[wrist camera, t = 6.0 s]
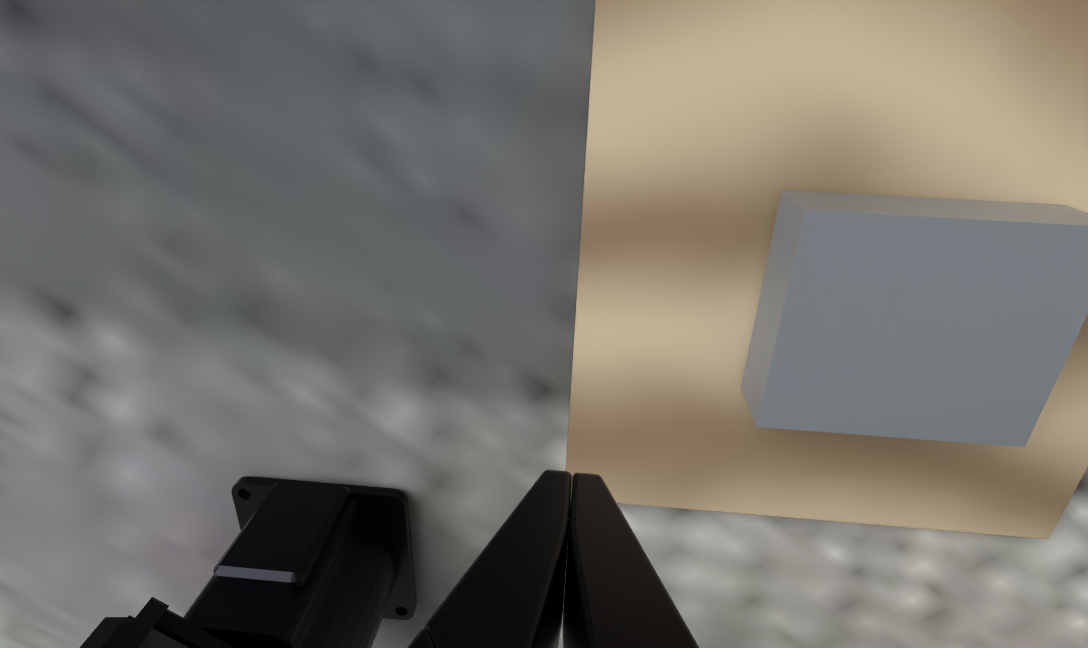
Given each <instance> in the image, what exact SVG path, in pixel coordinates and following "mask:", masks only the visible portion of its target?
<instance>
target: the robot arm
mask: <svg viewBox="0 0 1088 648" xmlns="http://www.w3.org/2000/svg"><path fill="white" fill-rule="evenodd" d="M571 487H572V491H571ZM247 490H248V491H247ZM232 496H233V500H234V504H235V508H236V512H237V516H238V520H239V524H240V529H241V532H240V533H239V534H238V536H237V537H236V538H235V540H234V541H233V543H232V544H231V545H230V547H229V548H228V550H227V551H226V552H225V554H224V555H223V556H222V558H221V559H220V561H219V562H218V563H217V565H216V566H215V568H214V575H213V576H212V578H211V579H210V580H209V582H208V583H207V585H206V586H205V587H204V589H203V590H202V592H201V593H200V594H199V596H198V597H197V599H196V600H195V602H194V603H193V604H192V606H191V607H190V609H189V610H188V611H187V613H186V614H185V616H184V617H181V616H179V615H177V614H175V613H174V612H172V611H170V610H168V609H167V608H168V607H169V605H167V604H165V603H163V602H161V601H159V600H157V599H156V598H154V597H152V598H151V599H150V600H149V602H148V603H147V604H146V605H145V606H144V608H143V609H142V610H141V611H140V613H139V614H138V615H137V616H136V618H134V617H132V616H130V615H129V616H128V617H105V618H104V619H103V621H102V622H101V623H100V624H99V625H98V627H97V628H96V629H95V630H94V631H93V632H92V634H91V635H90V636H89V637H88V638H87V640H86V641H85V642H84V643H83V644H82V645H81V647H80V648H372V645H373V642H374V640H375V637H376V634H377V631H378V629H379V626H380V623H381V621H382V618H389V619H399V620H407V619H410V618H411V617H412V616H413V615H414V611H415V608H416V592H415V580H414V568H413V556H412V545H411V533H410V521H409V509H408V499H407V496H406V495H405V494H404V493H403V492H401V491H400V490H397V489H391V488H379V487H367V486H355V485H344V484H332V483H320V482H308V481H296V480H284V479H272V478H260V477H249V476H248V477H242V478H240V479H239V480H238V481H237V483H236V484H235V485H234V486H233V488H232ZM390 501H391V502H394V503H396V505H394V504H391V503H390ZM570 502H571V505H570ZM569 517H570V519H569ZM568 532H569V534H568ZM567 546H568V548H567ZM566 560H567V563H566ZM565 574H566V578H565ZM564 588H565V593H564ZM563 602H564V608H563ZM562 614H563V647H564V648H699V647H698V645H697V643H696V641H695V640H694V638H693V636H692V634H691V633H690V631H689V629H688V627H687V626H686V624H685V622H684V620H683V619H682V617H681V615H680V613H679V612H678V610H677V608H676V606H675V605H674V603H673V601H672V599H671V598H670V596H669V594H668V592H667V591H666V589H665V587H664V585H663V584H662V582H661V580H660V578H659V577H658V575H657V573H656V571H655V570H654V568H653V566H652V564H651V563H650V561H649V559H648V557H647V556H646V554H645V552H644V550H643V549H642V547H641V545H640V543H639V541H638V540H637V538H636V536H635V534H634V533H633V531H632V529H631V527H630V526H629V524H628V522H627V520H626V519H625V517H624V515H623V513H622V512H621V510H620V508H619V506H618V505H617V503H616V501H615V499H614V498H613V496H612V494H611V492H610V491H609V489H608V487H607V485H606V484H605V482H604V480H603V479H602V477H601V476H600V475H598V474H592V473H580V472H576V473H574V475H573V477H572V474H571V473H570V472H568V471H556V470H546V471H544V472H543V473H542V475H541V476H540V477H539V478H538V480H537V481H536V482H535V484H534V485H533V486H532V488H531V489H530V490H529V491H528V493H527V494H526V495H525V497H524V498H523V499H522V500H521V502H520V503H519V504H518V506H517V507H516V508H515V510H514V511H513V512H512V513H511V515H510V516H509V517H508V519H507V520H506V521H505V523H504V524H503V525H502V526H501V528H500V529H499V530H498V532H497V533H496V534H495V535H494V537H493V538H492V539H491V541H490V542H489V543H488V545H487V546H486V547H485V548H484V550H483V551H482V552H481V554H480V555H479V556H478V557H477V559H476V560H475V561H474V563H473V564H472V565H471V567H470V568H469V569H468V570H467V572H466V573H465V574H464V576H463V577H462V578H461V579H460V581H459V582H458V583H457V585H456V586H455V587H454V589H453V590H452V591H451V592H450V594H449V595H448V596H447V598H446V599H445V600H444V601H443V603H442V604H441V605H440V607H439V608H438V609H437V611H436V612H435V613H434V614H433V616H432V617H431V618H430V620H429V621H428V622H427V624H426V625H425V629H422V630H421V631H420V632H419V633H418V635H417V636H416V637H415V639H414V640H413V641H412V643H411V644H410V645H409V646H408V648H558V643H559V637H560V631H561V624H562Z"/></svg>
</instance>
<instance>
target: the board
mask: <svg viewBox="0 0 1088 648" xmlns="http://www.w3.org/2000/svg"><path fill="white" fill-rule="evenodd" d="M782 190H793V191H812V192H831V193H850V194H869V195H888V196H907V197H926V198H945V199H964V200H983V201H1002V202H1021V203H1040V204H1060V205H1067V206H1070V207H1073V208H1076V209H1078V210H1081V211H1084V212H1087V213H1088V0H596V5H595V20H594V36H593V52H592V68H591V83H590V99H589V115H588V131H587V147H586V162H585V178H584V194H583V210H582V225H581V241H580V257H579V273H578V288H577V304H576V320H575V336H574V351H573V367H572V383H571V399H570V415H569V430H568V446H567V462H566V471H568V472H570V473H571V474H572V477H573V475H574V473H576V472H580V473H592V474H598V475H600V476H601V477H602V479H603V480H604V482H605V484H606V485H607V487H608V489H609V491H610V492H611V494H612V496H613V498H614V499H615V501H616V503H624V504H636V505H647V506H659V507H671V508H683V509H695V510H707V511H719V512H731V513H743V514H755V515H767V516H779V517H791V518H803V519H815V520H827V521H839V522H850V523H862V524H874V525H886V526H898V527H910V528H922V529H934V530H946V531H958V532H970V533H982V534H994V535H1006V536H1018V537H1030V538H1041V539H1049V537H1050V536H1051V534H1052V532H1053V530H1054V528H1055V526H1056V524H1057V523H1058V521H1059V519H1060V517H1061V515H1062V513H1063V512H1064V510H1065V508H1066V506H1067V504H1068V502H1069V500H1070V499H1071V497H1072V495H1073V493H1074V491H1075V489H1076V487H1077V486H1078V484H1079V482H1080V480H1081V478H1082V476H1083V474H1084V473H1085V471H1086V469H1087V467H1088V315H1087V317H1086V319H1085V321H1084V323H1083V325H1082V327H1081V329H1080V332H1079V334H1078V336H1077V338H1076V340H1075V342H1074V344H1073V346H1072V348H1071V351H1070V353H1069V355H1068V357H1067V359H1066V361H1065V363H1064V365H1063V367H1062V370H1061V372H1060V374H1059V376H1058V378H1057V380H1056V382H1055V384H1054V386H1053V389H1052V391H1051V393H1050V395H1049V397H1048V399H1047V401H1046V403H1045V405H1044V408H1043V410H1042V412H1041V414H1040V416H1039V418H1038V420H1037V422H1036V424H1035V427H1034V429H1033V431H1032V433H1031V435H1030V437H1029V439H1028V441H1027V443H1026V446H1025V447H1015V446H1002V445H989V444H976V443H962V442H949V441H936V440H922V439H909V438H896V437H883V436H869V435H856V434H843V433H830V432H816V431H803V430H790V429H776V428H763V427H756V425H755V423H754V420H753V418H752V415H751V413H750V410H749V408H748V405H747V403H746V400H745V398H744V395H743V393H742V390H741V384H742V379H743V374H744V369H745V364H746V359H747V355H748V350H749V345H750V340H751V335H752V331H753V326H754V321H755V316H756V311H757V306H758V302H759V297H760V292H761V287H762V282H763V278H764V273H765V268H766V263H767V258H768V254H769V249H770V244H771V239H772V234H773V229H774V225H775V220H776V215H777V210H778V205H779V201H780V196H781V191H782ZM571 491H572V487H571Z"/></svg>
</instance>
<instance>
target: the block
mask: <svg viewBox="0 0 1088 648" xmlns="http://www.w3.org/2000/svg"><path fill="white" fill-rule="evenodd" d="M1087 315H1088V213H1087V212H1084V211H1081V210H1078V209H1076V208H1073V207H1070V206H1067V205H1060V204H1040V203H1021V202H1002V201H983V200H964V199H945V198H926V197H907V196H888V195H869V194H850V193H831V192H812V191H793V190H782V191H781V196H780V201H779V205H778V210H777V215H776V220H775V225H774V229H773V234H772V239H771V244H770V249H769V254H768V258H767V263H766V268H765V273H764V278H763V282H762V287H761V292H760V297H759V302H758V306H757V311H756V316H755V321H754V326H753V331H752V335H751V340H750V345H749V350H748V355H747V359H746V364H745V369H744V374H743V379H742V384H741V390H742V393H743V395H744V398H745V400H746V403H747V405H748V408H749V410H750V413H751V415H752V418H753V420H754V423H755V425H756V427H763V428H776V429H790V430H803V431H816V432H830V433H843V434H856V435H869V436H883V437H896V438H909V439H922V440H936V441H949V442H962V443H976V444H989V445H1002V446H1015V447H1025V446H1026V443H1027V441H1028V439H1029V437H1030V435H1031V433H1032V431H1033V429H1034V427H1035V424H1036V422H1037V420H1038V418H1039V416H1040V414H1041V412H1042V410H1043V408H1044V405H1045V403H1046V401H1047V399H1048V397H1049V395H1050V393H1051V391H1052V389H1053V386H1054V384H1055V382H1056V380H1057V378H1058V376H1059V374H1060V372H1061V370H1062V367H1063V365H1064V363H1065V361H1066V359H1067V357H1068V355H1069V353H1070V351H1071V348H1072V346H1073V344H1074V342H1075V340H1076V338H1077V336H1078V334H1079V332H1080V329H1081V327H1082V325H1083V323H1084V321H1085V319H1086V317H1087Z"/></svg>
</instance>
